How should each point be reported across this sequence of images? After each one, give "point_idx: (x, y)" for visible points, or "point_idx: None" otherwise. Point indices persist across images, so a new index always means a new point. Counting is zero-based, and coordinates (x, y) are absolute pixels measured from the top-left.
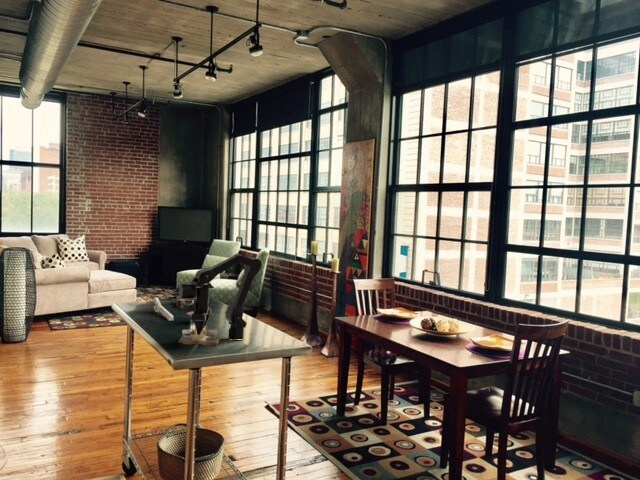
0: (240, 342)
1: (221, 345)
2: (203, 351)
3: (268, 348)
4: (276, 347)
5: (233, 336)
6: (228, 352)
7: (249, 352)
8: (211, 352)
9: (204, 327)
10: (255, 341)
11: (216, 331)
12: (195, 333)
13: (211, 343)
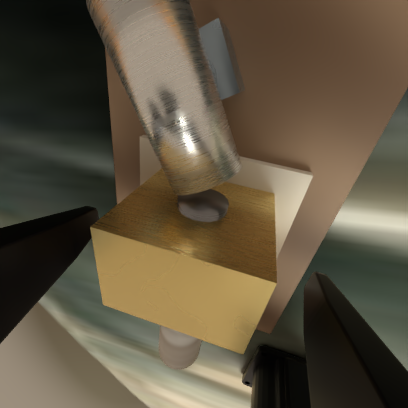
0: (213, 361)
1: None
2: (11, 193)
3: (139, 385)
4: (155, 402)
5: (260, 379)
6: None
7: (75, 334)
8: None
9: (165, 321)
10: (232, 399)
11: (160, 351)
12: (137, 190)
13: None
